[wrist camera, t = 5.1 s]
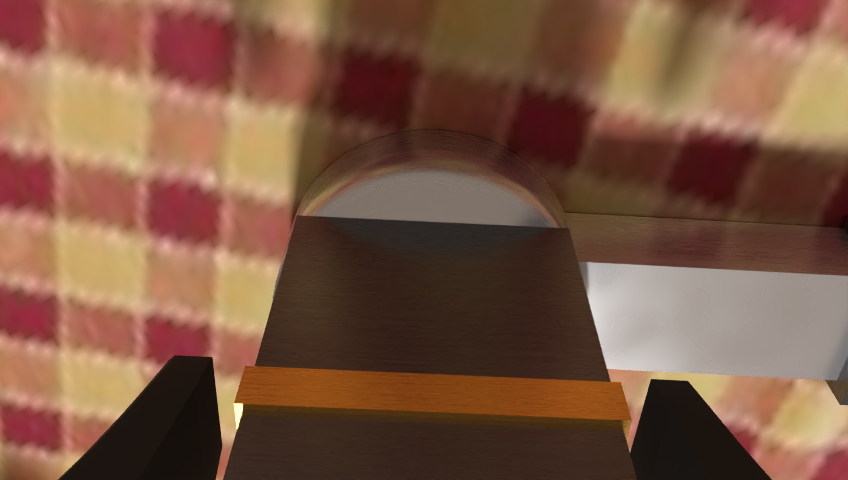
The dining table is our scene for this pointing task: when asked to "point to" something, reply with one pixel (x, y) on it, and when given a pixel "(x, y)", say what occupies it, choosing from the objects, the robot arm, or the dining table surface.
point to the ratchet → (627, 260)
